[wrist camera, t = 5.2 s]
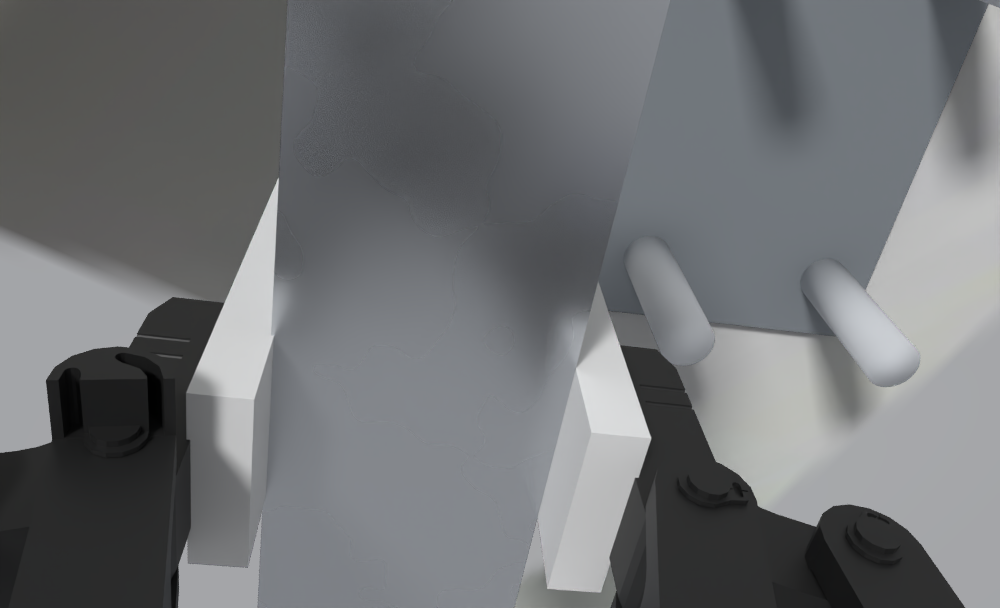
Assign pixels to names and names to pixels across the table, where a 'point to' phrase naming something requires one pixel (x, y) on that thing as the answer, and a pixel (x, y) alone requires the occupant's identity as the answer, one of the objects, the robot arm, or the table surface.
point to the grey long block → (435, 283)
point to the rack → (780, 168)
